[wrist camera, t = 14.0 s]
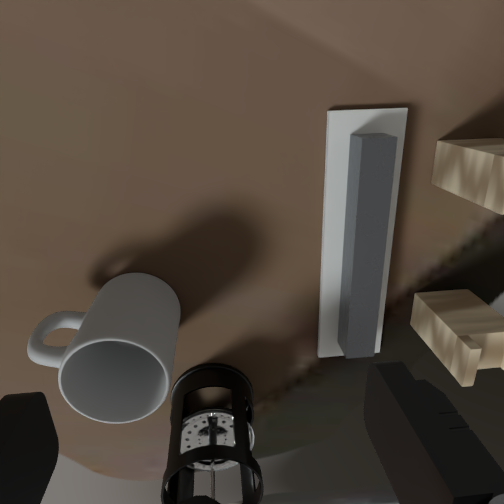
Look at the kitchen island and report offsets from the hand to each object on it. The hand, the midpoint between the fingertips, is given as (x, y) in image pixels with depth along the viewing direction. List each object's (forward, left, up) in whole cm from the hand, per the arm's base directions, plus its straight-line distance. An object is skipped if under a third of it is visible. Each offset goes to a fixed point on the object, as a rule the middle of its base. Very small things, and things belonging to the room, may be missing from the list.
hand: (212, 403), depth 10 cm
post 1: (0, +24, -28) cm, 37 cm away
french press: (+26, -2, -28) cm, 38 cm away
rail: (+8, +14, -28) cm, 32 cm away
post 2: (+16, +24, -28) cm, 40 cm away
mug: (+13, -10, -28) cm, 33 cm away
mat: (+8, +14, -28) cm, 32 cm away
